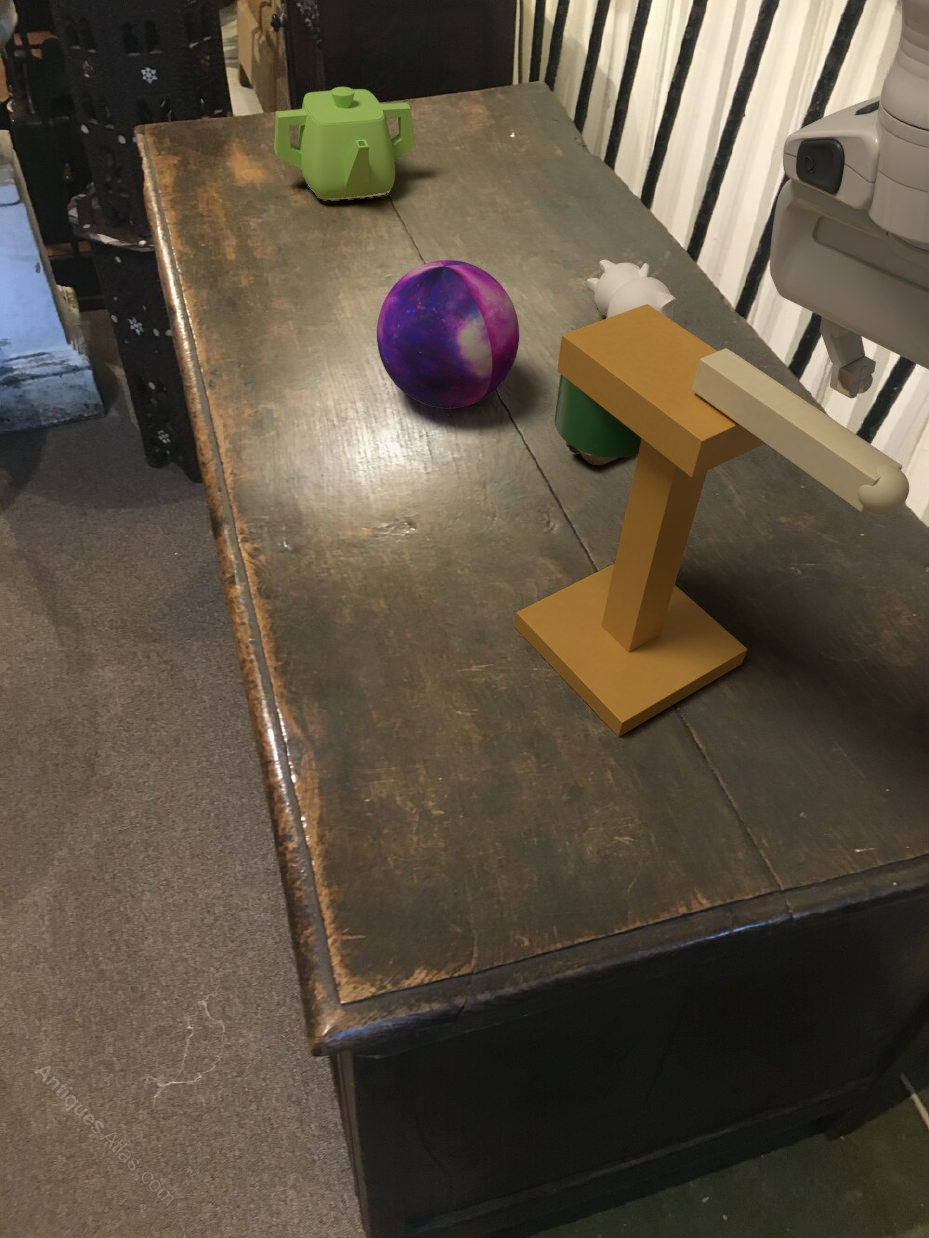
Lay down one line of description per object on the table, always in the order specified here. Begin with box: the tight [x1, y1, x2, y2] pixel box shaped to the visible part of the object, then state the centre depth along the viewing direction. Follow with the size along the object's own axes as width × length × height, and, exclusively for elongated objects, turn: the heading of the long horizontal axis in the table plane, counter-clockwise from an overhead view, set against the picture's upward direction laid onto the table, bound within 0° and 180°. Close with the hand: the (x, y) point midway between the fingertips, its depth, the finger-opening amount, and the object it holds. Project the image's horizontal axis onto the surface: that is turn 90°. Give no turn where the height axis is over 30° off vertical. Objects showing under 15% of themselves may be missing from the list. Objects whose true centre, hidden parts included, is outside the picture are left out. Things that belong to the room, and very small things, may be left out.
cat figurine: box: [586, 259, 677, 321], centre depth 116 cm, size 9×11×12 cm
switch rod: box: [692, 347, 910, 515], centre depth 58 cm, size 15×3×3 cm, turn 35°
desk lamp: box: [514, 304, 766, 738], centre depth 75 cm, size 18×14×27 cm
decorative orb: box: [376, 259, 520, 410], centre depth 102 cm, size 15×15×15 cm
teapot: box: [273, 86, 416, 202], centre depth 136 cm, size 18×20×13 cm
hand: (917, 426), depth 52 cm, fingers open, 8 cm apart
